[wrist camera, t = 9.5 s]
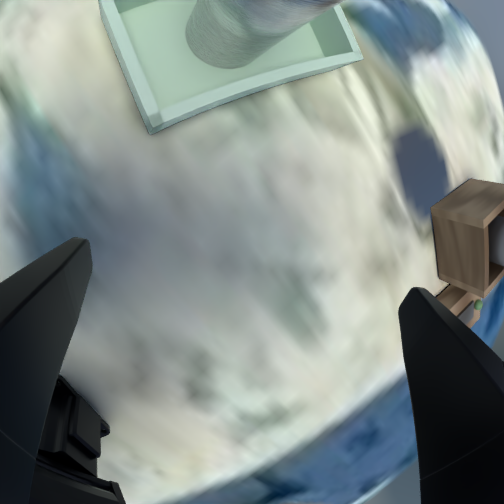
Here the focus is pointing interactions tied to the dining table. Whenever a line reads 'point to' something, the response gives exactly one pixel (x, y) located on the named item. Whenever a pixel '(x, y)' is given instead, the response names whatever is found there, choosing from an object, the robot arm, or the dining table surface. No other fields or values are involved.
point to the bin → (471, 236)
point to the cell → (246, 27)
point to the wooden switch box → (462, 304)
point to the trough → (201, 74)
